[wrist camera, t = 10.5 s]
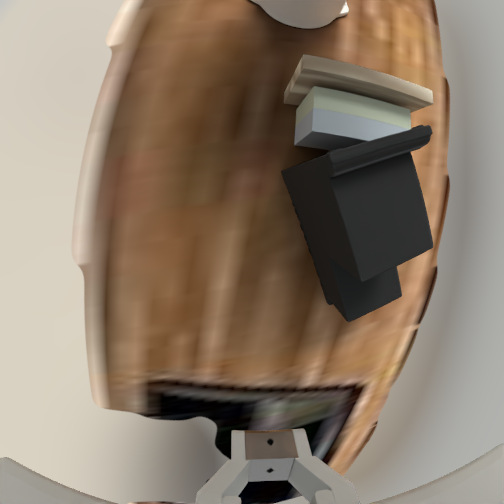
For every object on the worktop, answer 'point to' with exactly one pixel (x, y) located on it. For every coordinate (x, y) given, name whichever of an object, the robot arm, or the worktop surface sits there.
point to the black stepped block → (362, 218)
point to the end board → (354, 83)
